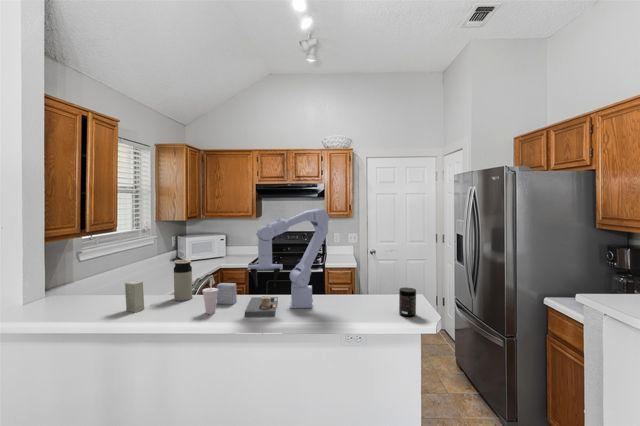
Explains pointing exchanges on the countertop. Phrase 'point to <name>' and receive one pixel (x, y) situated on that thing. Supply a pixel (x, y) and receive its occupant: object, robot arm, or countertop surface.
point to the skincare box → (134, 296)
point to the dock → (255, 307)
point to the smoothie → (210, 298)
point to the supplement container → (407, 302)
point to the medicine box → (226, 293)
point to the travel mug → (182, 280)
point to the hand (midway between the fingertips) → (265, 286)
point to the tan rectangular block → (266, 302)
